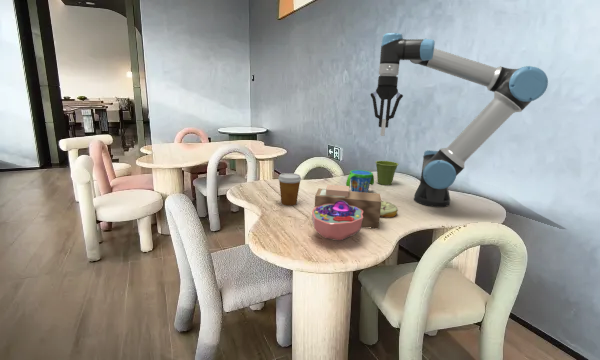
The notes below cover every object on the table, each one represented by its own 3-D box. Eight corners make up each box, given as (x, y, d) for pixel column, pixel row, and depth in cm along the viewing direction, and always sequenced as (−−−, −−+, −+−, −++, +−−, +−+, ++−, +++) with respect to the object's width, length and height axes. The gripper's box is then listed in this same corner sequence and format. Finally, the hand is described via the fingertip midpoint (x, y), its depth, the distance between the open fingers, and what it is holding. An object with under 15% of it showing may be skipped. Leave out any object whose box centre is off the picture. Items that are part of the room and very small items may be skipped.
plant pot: (398, 187, 179) (401, 165, 176) (375, 186, 179) (377, 164, 176) (393, 181, 190) (395, 161, 187) (371, 180, 190) (373, 160, 187)
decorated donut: (382, 220, 131) (383, 210, 130) (361, 211, 141) (361, 201, 140) (402, 215, 138) (403, 205, 137) (380, 207, 147) (381, 197, 146)
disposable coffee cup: (303, 202, 148) (305, 174, 145) (294, 208, 140) (295, 179, 137) (284, 198, 152) (284, 171, 149) (273, 204, 144) (274, 176, 141)
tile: (349, 186, 130) (327, 184, 131) (348, 191, 123) (326, 189, 124) (348, 191, 130) (327, 189, 131) (348, 196, 123) (325, 194, 125)
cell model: (298, 239, 111) (299, 205, 108) (327, 221, 128) (329, 191, 125) (346, 254, 103) (349, 218, 100) (371, 232, 119) (374, 201, 116)
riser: (377, 218, 132) (380, 193, 130) (378, 228, 123) (381, 201, 120) (317, 213, 136) (318, 187, 133) (313, 222, 126) (315, 195, 124)
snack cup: (366, 188, 173) (367, 168, 171) (379, 194, 164) (381, 173, 162) (339, 191, 167) (341, 170, 164) (352, 197, 157) (353, 175, 155)
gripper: (371, 74, 135) (366, 135, 141) (406, 75, 133) (399, 137, 139) (371, 75, 142) (366, 133, 148) (404, 76, 140) (397, 135, 146)
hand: (382, 135), depth 144 cm, fingers closed
